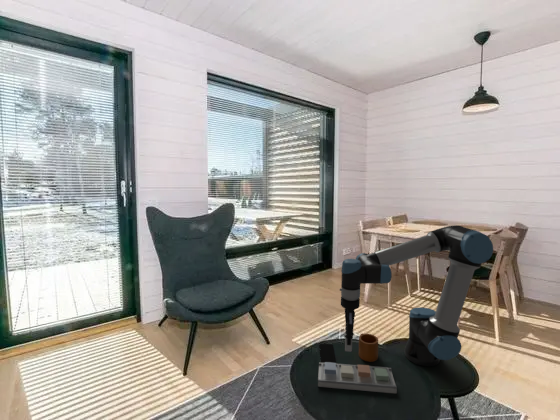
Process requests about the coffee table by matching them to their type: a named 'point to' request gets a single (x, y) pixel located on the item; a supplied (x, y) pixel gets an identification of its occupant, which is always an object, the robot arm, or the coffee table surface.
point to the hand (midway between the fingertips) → (348, 350)
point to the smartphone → (327, 353)
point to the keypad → (356, 380)
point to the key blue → (330, 368)
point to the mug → (368, 347)
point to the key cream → (346, 371)
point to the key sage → (381, 374)
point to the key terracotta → (364, 371)
